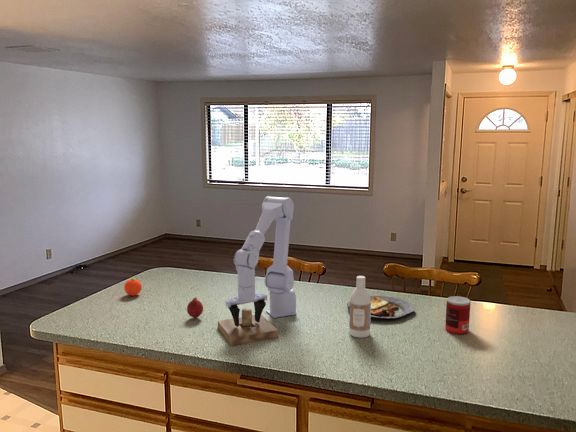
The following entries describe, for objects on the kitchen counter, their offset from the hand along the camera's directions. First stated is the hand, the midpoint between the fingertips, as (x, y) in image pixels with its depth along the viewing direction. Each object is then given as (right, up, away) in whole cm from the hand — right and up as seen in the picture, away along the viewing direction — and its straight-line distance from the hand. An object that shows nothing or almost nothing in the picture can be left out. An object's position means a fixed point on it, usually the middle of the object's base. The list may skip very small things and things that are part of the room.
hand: (247, 323), depth 170 cm
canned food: (+72, -3, +2) cm, 72 cm away
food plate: (+49, 0, +21) cm, 53 cm away
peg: (0, -3, +1) cm, 3 cm away
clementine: (-51, +3, +40) cm, 65 cm away
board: (0, -3, +1) cm, 3 cm away
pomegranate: (-20, -1, +13) cm, 24 cm away
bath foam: (+38, -4, -1) cm, 38 cm away
